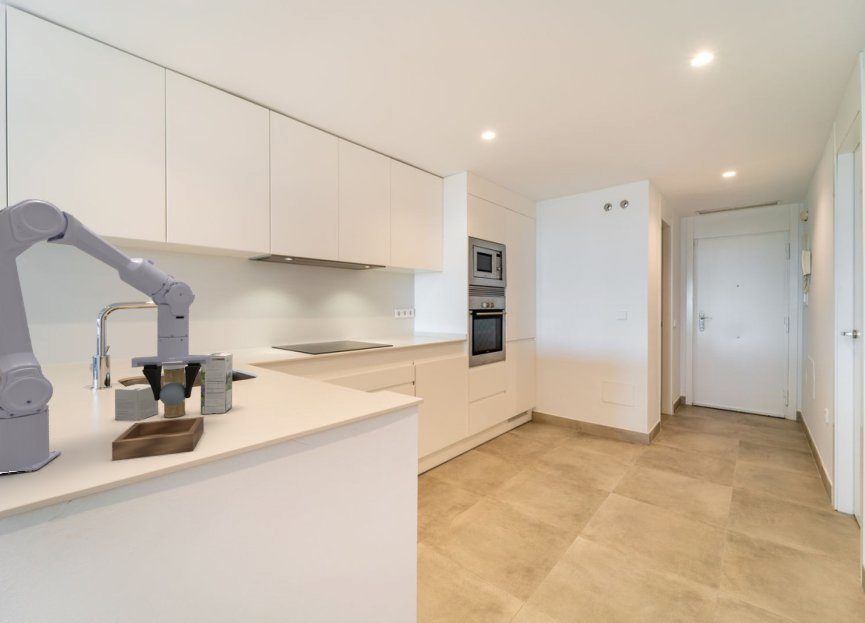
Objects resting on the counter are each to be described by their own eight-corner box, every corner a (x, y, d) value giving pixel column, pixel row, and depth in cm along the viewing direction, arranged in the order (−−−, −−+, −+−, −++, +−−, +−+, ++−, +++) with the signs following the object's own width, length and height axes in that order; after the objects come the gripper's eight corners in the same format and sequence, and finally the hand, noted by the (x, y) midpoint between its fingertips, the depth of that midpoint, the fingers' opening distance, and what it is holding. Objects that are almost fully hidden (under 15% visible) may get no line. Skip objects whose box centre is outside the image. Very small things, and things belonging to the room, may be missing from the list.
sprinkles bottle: (185, 416, 94) (185, 360, 93) (162, 419, 91) (162, 362, 91) (185, 412, 98) (185, 358, 97) (163, 414, 95) (162, 359, 95)
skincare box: (136, 413, 96) (136, 383, 96) (159, 414, 96) (158, 384, 96) (114, 420, 90) (113, 388, 90) (138, 421, 90) (138, 389, 90)
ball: (156, 409, 82) (156, 385, 82) (163, 403, 87) (162, 381, 87) (184, 406, 84) (183, 383, 84) (189, 401, 88) (188, 379, 88)
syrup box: (208, 408, 101) (207, 352, 100) (233, 407, 102) (232, 352, 102) (200, 414, 95) (199, 355, 95) (226, 413, 96) (226, 355, 96)
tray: (112, 460, 67) (112, 442, 67) (135, 438, 78) (135, 422, 78) (192, 450, 72) (192, 434, 72) (203, 431, 83) (203, 416, 83)
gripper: (213, 334, 91) (213, 392, 92) (139, 335, 86) (139, 397, 86) (209, 336, 85) (208, 398, 85) (127, 338, 79) (127, 404, 80)
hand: (173, 398), depth 85 cm, fingers closed on ball, 5 cm apart
